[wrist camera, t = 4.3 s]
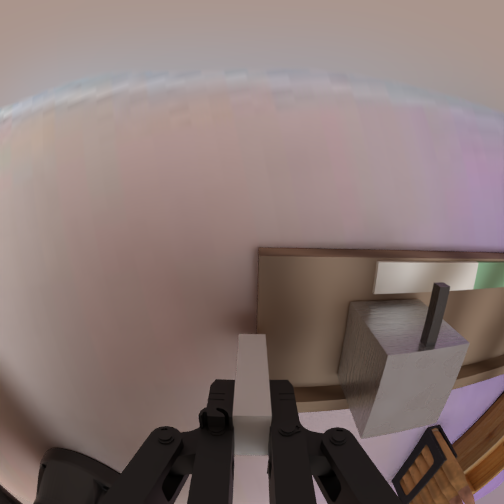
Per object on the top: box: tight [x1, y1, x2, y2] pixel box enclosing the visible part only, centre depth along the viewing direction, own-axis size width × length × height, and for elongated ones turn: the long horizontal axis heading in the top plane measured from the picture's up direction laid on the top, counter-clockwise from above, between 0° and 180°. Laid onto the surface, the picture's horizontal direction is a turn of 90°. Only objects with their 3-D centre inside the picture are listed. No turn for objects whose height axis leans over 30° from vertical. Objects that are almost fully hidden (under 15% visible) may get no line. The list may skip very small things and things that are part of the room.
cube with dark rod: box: [337, 282, 470, 439], centre depth 15 cm, size 5×9×6 cm, turn 179°
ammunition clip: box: [392, 425, 475, 504], centre depth 19 cm, size 11×2×12 cm, turn 175°
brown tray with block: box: [256, 248, 504, 413], centre depth 16 cm, size 27×11×8 cm, turn 89°
